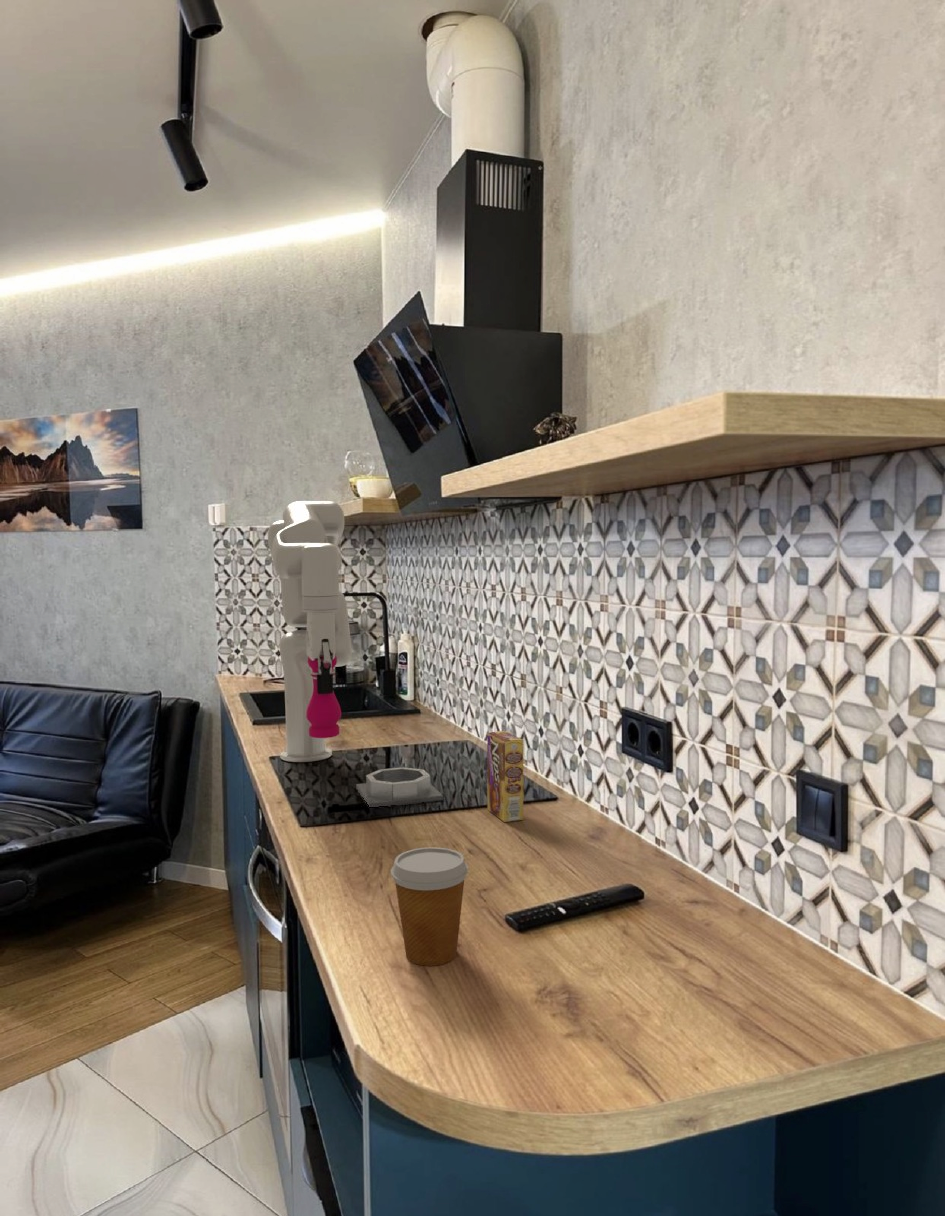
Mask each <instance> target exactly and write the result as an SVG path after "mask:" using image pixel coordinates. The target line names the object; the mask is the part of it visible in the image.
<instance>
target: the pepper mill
mask: <svg viewBox="0 0 945 1216" xmlns="http://www.w3.org/2000/svg"><path fill="white" fill-rule="evenodd" d="M331 656H333V653H331ZM332 658H333V657H331V659H332ZM320 659H323V657H320ZM317 660H318V659H317V658H315V661H312V660H311V659H310V658H309V656H308V665H309V666H310V668H311V669H312V671H311V678H312V679H313V694H312V697H311V700H310V702H309V704H308V707H307V712H306V718H307V720H308V721H309V722H310V723H311V726H310V727H309V736H310V737H313V738H325V739H329V738H330V739H331V738H334V737H337V736H339V734H340V725H339V724H338V722H339V720H340V719H341V718H342V710H341V706H340V703H339V701H338V699H337V696H336V694H335V691H334V690H333V693H330V694H318V693H317V675H318V662H317ZM322 663H323V662H321V664H322ZM336 664H337V657H336V654H335V658H334V659H333V660H332V674H333V679H334V678H336V675H335V673H336V672H335V671H336V670H334V668H335V665H336Z"/></svg>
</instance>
